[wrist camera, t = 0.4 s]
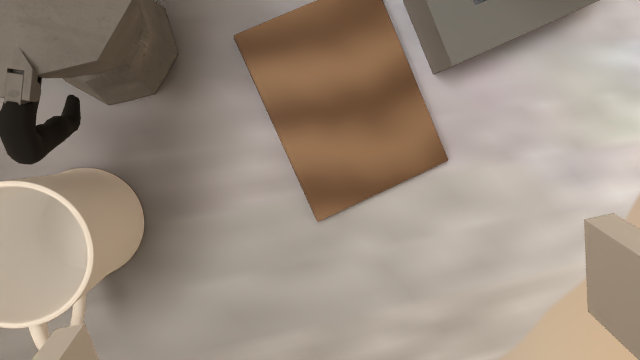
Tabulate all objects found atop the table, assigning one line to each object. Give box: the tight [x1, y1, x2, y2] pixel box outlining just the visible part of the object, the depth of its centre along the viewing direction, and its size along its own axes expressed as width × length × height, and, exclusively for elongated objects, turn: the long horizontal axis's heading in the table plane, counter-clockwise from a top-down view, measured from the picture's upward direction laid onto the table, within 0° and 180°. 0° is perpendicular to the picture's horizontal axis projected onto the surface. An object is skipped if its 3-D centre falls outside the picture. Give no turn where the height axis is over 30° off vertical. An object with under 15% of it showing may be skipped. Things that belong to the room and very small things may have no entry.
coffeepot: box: [0, 0, 178, 164], centre depth 29 cm, size 15×9×18 cm, turn 172°
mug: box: [0, 168, 144, 350], centre depth 32 cm, size 12×8×12 cm
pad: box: [234, 0, 448, 221], centre depth 40 cm, size 16×12×1 cm
